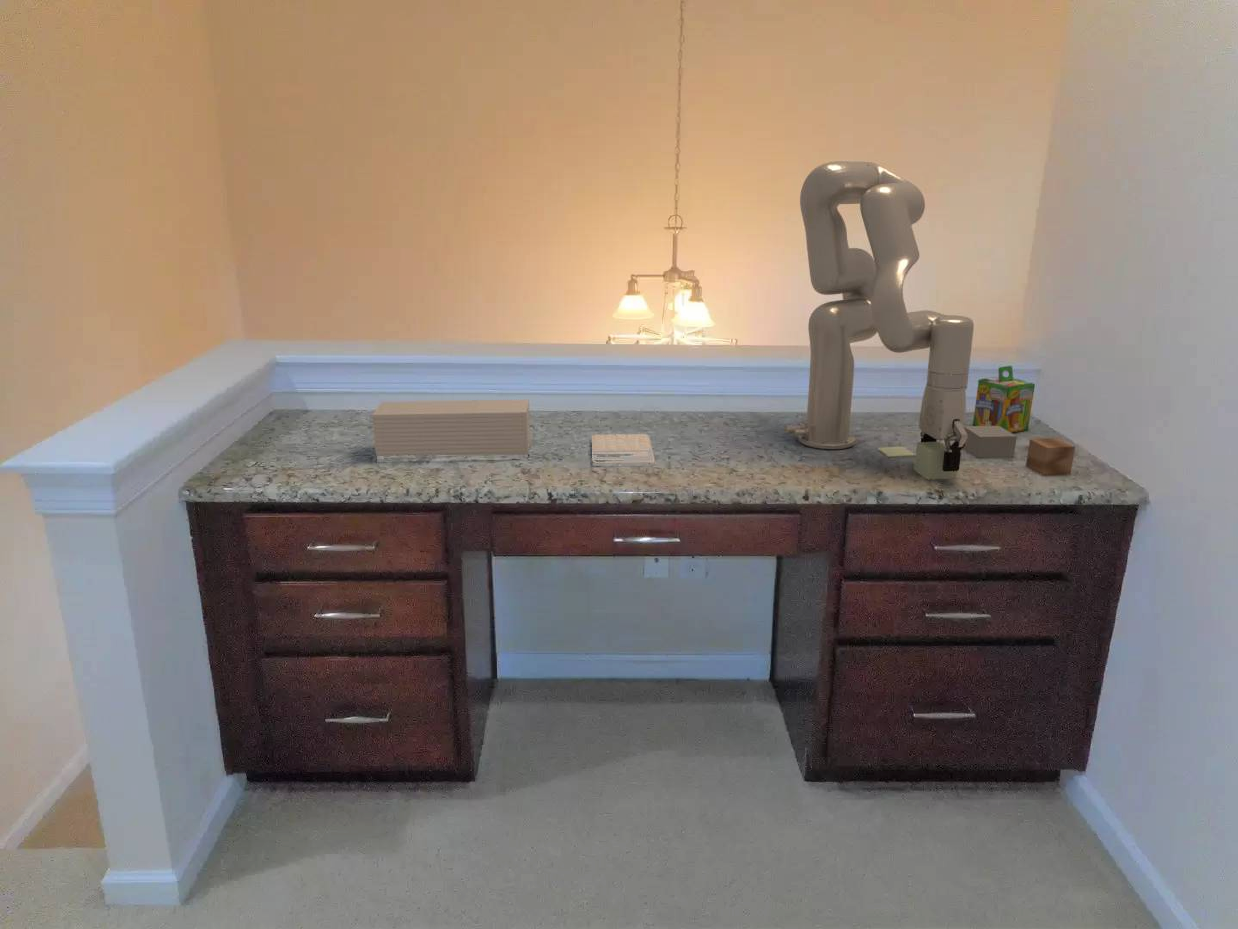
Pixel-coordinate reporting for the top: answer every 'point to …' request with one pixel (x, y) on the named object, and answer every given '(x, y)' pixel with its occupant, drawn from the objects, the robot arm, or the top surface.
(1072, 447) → the walnut block
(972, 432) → the base block
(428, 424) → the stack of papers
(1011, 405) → the chalk box
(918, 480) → the top surface
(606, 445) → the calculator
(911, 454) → the tile
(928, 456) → the sage block
